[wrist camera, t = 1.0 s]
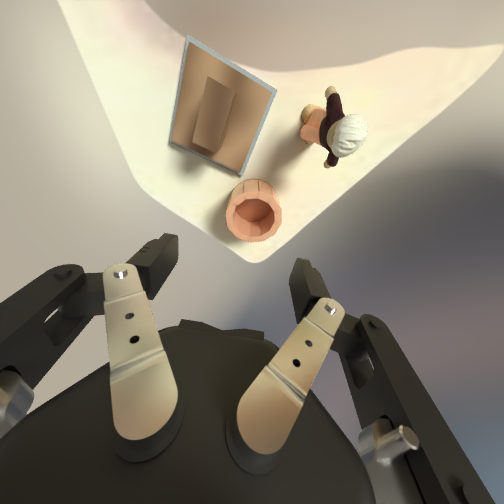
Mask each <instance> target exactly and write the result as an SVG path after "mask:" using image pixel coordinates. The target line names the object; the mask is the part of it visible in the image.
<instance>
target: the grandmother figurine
mask: <svg viewBox="0 0 504 504" xmlns="http://www.w3.org/2000/svg"><path fill="white" fill-rule="evenodd" d="M325 97H326V99H327V107H326V109H324V108H321V107H319V106H315V105H308V106H306V107H305V108H304V110H303V114H302V118H303V121H304V122H305V123H306V124H305V125H304V126H303V127H302V129H301V132H300V135H301V138H302V139H304V141H305V142H306V143H307V144H312V143H314V142H315V143H317V144H319V145H321V146H322V147H324V148H326V149H327V150H328V151H329V154H328V157H327V160H326V161H325V162H324V167H325V168H330V167H334V166H336V164H337V162H338V159H339V157H340V158H341V157H346V156H348V155H350V154H352V153H354V152H355V151H356V150H357V149H358V148H359V147H360V146H361V145H362V144H363V142H364V141H365V139H366V135H367V132H368V127H367V125H366V122H365V121H364V119H363V117H362V116H361V115H357V114H350V115H347V116H345V115H344V113H343V111H342V104H341V100H340V96H339V94H338V93H337V92H336V89H335V87H333V86H330V87H328V88H327V89H326V91H325Z"/></svg>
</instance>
